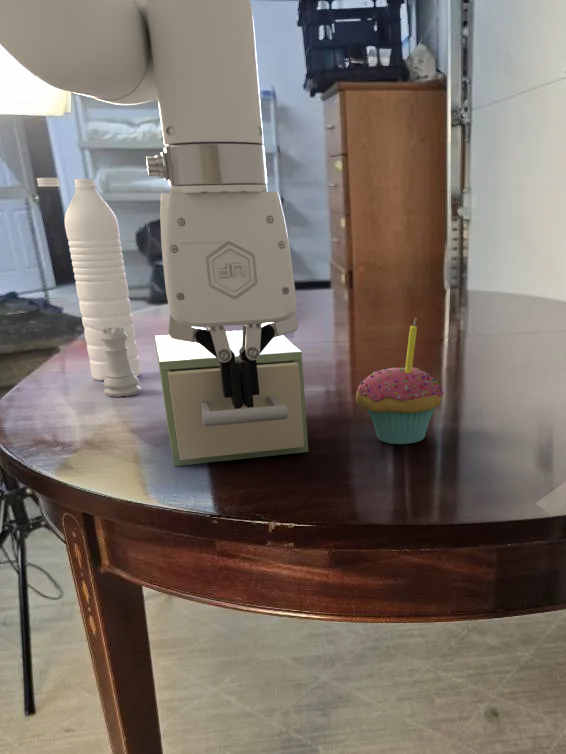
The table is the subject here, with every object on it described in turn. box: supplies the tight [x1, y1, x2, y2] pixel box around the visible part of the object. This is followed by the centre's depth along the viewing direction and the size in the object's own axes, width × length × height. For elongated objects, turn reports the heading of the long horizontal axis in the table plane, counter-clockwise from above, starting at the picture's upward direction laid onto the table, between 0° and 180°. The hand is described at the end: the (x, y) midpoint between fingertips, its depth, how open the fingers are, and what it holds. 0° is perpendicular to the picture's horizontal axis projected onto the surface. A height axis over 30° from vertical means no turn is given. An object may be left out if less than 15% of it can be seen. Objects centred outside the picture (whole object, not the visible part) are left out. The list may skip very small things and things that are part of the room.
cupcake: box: [355, 317, 444, 445], centre depth 76 cm, size 9×8×12 cm
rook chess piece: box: [100, 327, 142, 398], centre depth 96 cm, size 4×4×8 cm
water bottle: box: [36, 177, 142, 381], centre depth 102 cm, size 9×6×25 cm
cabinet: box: [154, 329, 309, 467], centre depth 77 cm, size 15×13×10 cm
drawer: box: [168, 362, 304, 460], centre depth 73 cm, size 19×11×8 cm, turn 18°
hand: (242, 404), depth 68 cm, fingers closed
